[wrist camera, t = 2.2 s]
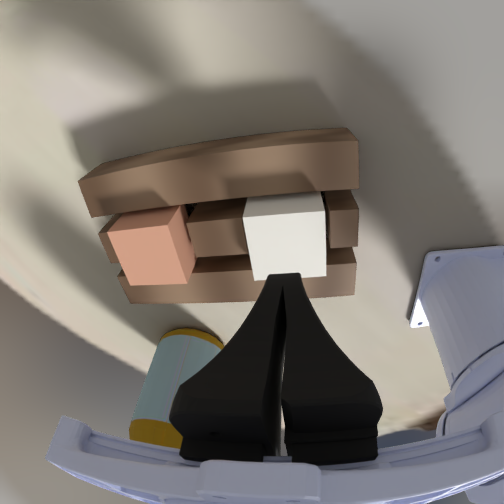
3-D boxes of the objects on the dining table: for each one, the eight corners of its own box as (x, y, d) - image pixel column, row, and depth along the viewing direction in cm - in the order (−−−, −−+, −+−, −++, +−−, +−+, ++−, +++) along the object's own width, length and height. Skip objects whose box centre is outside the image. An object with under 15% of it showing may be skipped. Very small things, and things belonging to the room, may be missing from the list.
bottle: (154, 320, 27) (99, 469, 15) (228, 328, 27) (196, 495, 14) (168, 363, 31) (131, 489, 19) (232, 371, 31) (209, 507, 18)
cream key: (319, 186, 17) (324, 211, 14) (321, 245, 19) (326, 276, 17) (249, 192, 18) (242, 217, 15) (258, 250, 20) (254, 280, 17)
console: (346, 127, 16) (358, 140, 14) (347, 266, 22) (354, 295, 19) (101, 163, 19) (77, 181, 16) (143, 278, 24) (130, 303, 22)
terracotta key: (183, 200, 18) (167, 224, 16) (198, 254, 20) (187, 283, 18) (127, 208, 19) (106, 232, 16) (146, 258, 21) (130, 285, 19)
